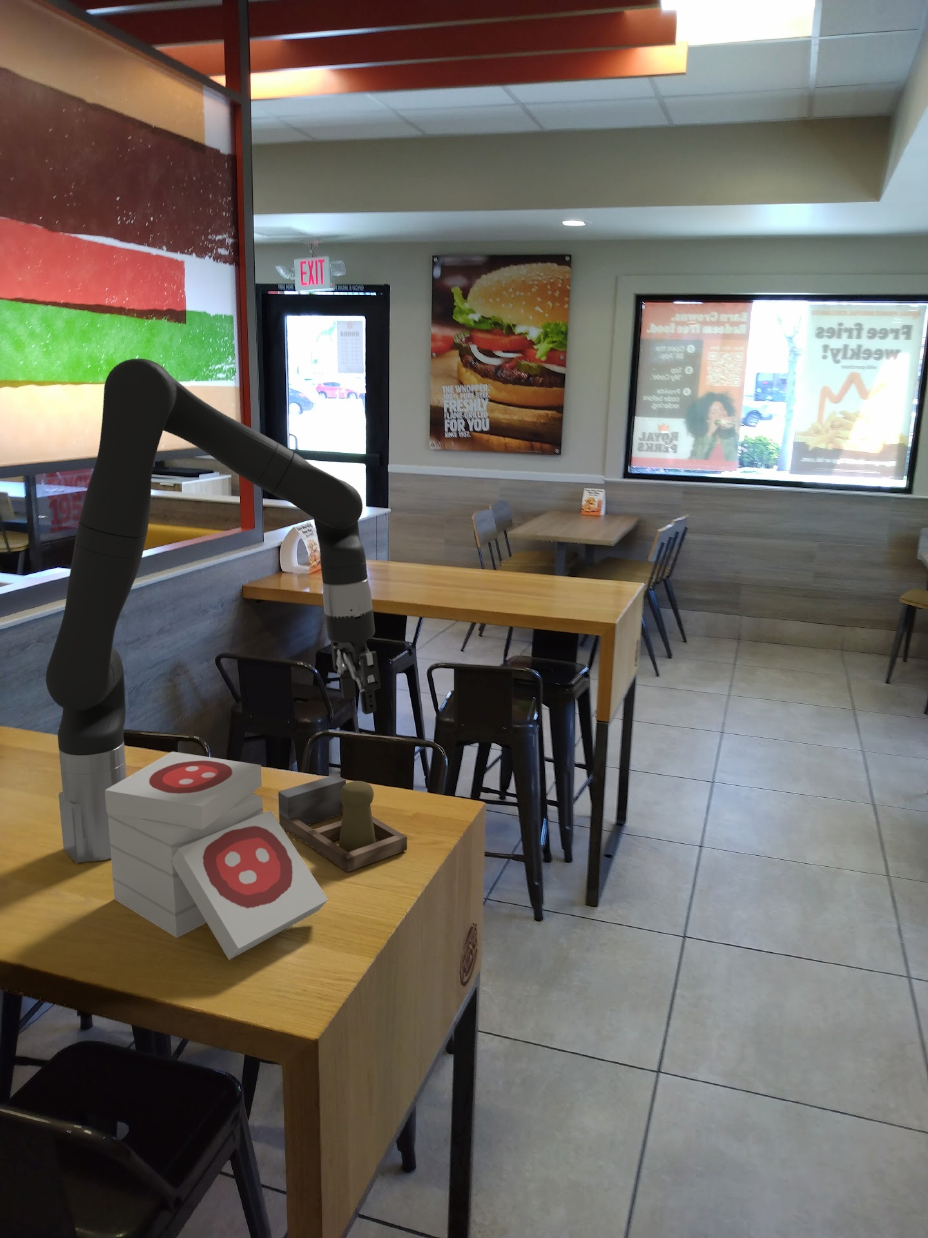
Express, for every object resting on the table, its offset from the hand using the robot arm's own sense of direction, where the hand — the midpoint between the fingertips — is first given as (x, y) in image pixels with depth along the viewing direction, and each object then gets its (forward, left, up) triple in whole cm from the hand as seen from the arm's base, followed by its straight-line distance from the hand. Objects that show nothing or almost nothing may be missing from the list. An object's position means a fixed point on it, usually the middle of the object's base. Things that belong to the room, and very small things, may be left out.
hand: (359, 705), depth 149 cm
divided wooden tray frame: (-5, -2, -21) cm, 22 cm away
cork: (-5, -7, -21) cm, 23 cm away
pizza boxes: (-30, -9, -21) cm, 38 cm away
